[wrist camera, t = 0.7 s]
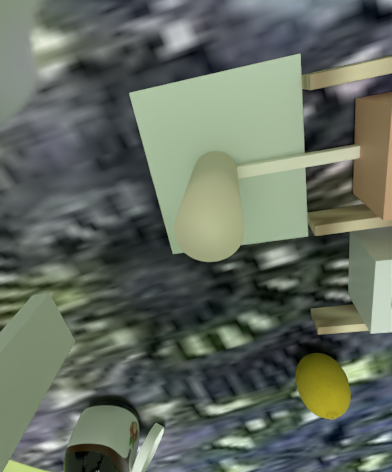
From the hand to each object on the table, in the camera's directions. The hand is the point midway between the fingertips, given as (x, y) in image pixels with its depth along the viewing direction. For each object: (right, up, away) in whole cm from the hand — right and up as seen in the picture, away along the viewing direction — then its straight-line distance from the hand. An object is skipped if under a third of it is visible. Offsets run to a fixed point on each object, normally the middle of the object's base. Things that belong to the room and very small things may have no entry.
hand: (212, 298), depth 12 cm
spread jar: (-11, -26, +36) cm, 46 cm away
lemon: (+14, -12, +26) cm, 32 cm away
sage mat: (+2, +9, +16) cm, 19 cm away
